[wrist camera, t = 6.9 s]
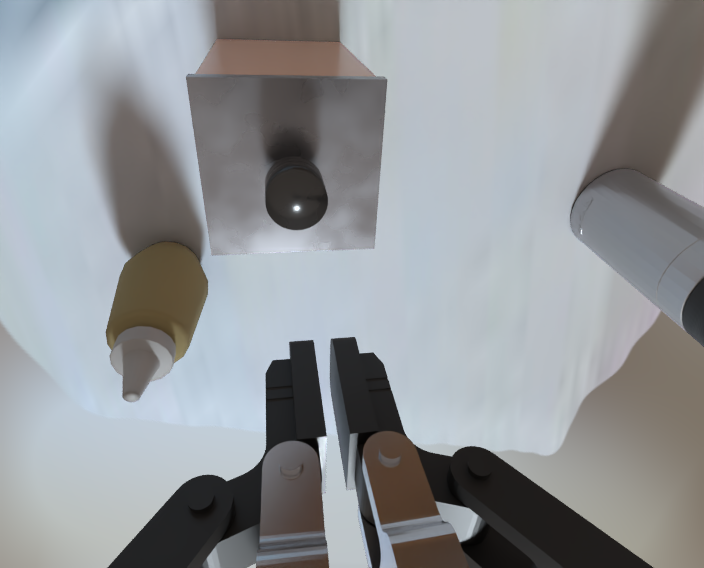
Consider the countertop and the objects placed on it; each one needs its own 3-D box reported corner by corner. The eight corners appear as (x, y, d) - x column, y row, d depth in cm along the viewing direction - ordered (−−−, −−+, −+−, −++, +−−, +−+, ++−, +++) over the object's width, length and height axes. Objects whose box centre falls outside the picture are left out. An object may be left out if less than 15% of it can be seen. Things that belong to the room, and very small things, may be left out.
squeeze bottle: (156, 215, 45) (105, 335, 30) (227, 259, 49) (212, 385, 34) (112, 271, 48) (46, 407, 33) (183, 309, 52) (152, 446, 37)
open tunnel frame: (340, 41, 39) (379, 79, 26) (337, 158, 45) (368, 238, 32) (216, 38, 38) (193, 76, 25) (229, 160, 43) (215, 243, 30)
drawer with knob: (344, 41, 38) (406, 96, 22) (341, 165, 44) (387, 281, 28) (212, 38, 37) (173, 94, 20) (226, 167, 42) (205, 291, 26)
